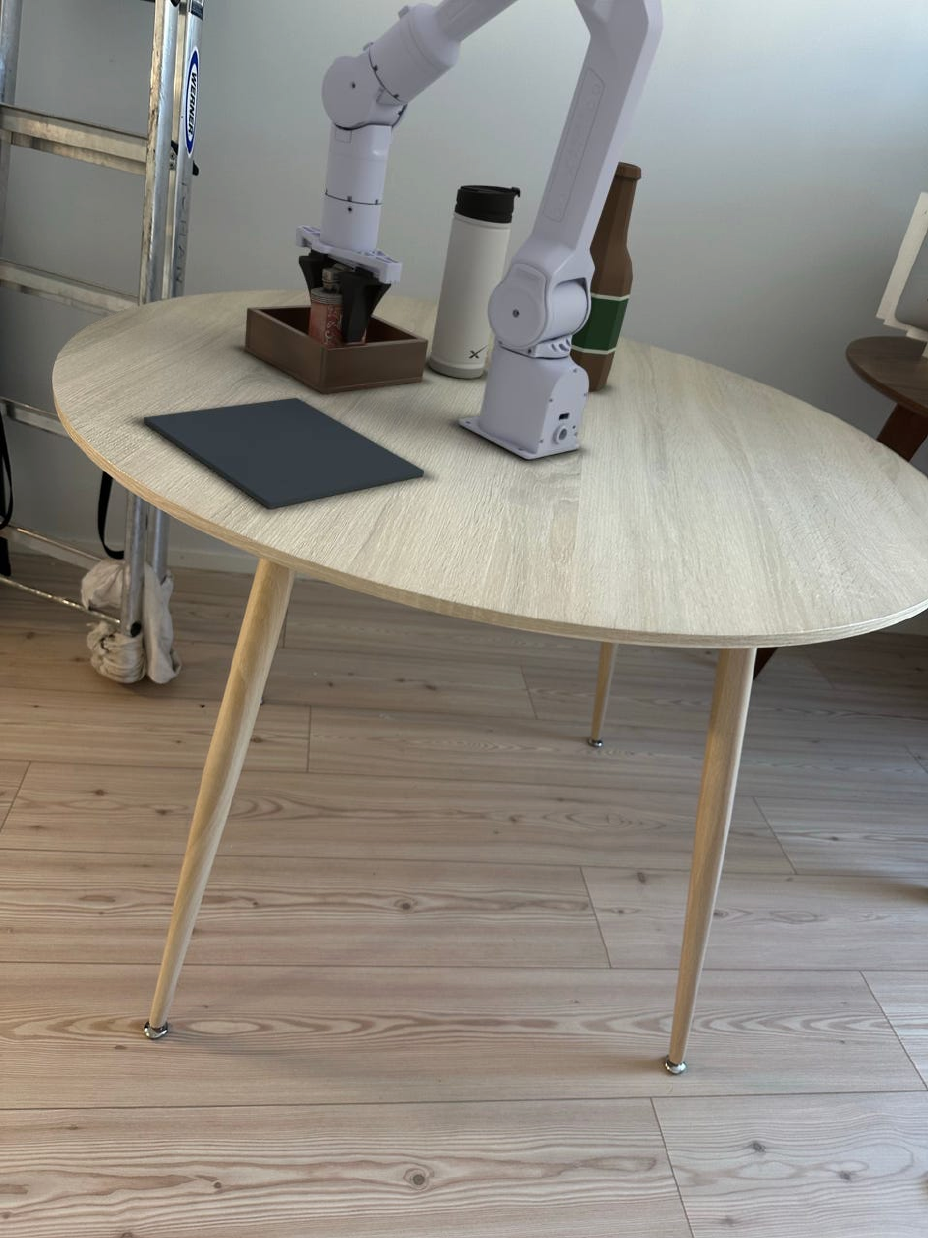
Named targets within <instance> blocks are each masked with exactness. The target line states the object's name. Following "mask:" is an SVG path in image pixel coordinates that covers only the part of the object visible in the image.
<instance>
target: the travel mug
mask: <svg viewBox="0 0 928 1238" xmlns="http://www.w3.org/2000/svg"><path fill="white" fill-rule="evenodd" d="M516 196H517V198H521V189H520V188H519V187H517V186H511V187H505V186H497V185H485V184H484V185H483V184H468V185H467V184H466V185H461V186H460V188H458V189H457V192H456V198H455V201H456V203H455V205H454V210H453V218H452V221H451V226H450V231H449V239H448V244H447V249H446V250H447V251H446V255H445V256H446V257H445V262H444V268H443V273H442V274H443V275H442V281H441V288H440V292H439V299H438V305H437V311H436V312H437V313H436V318H435V324H434V329H433V337H432V344H431V349H430V350H431V351H430V354H429V361H428V364H429V367H430V368H431V369H432V370H433V371H435V372H437V373H439V374H441V375H444V376H448V377H450V378H456V379H464V380H466V379H467V380H468V379H469V380H470V379H471V380H472V379H478V378H479V377H481V376H482V375H483V373H484V369H485V366H486V365H485V364H486V362H485V361H486V359H487V355H488V348H489V343H490V338H491V333H492V329H491V327H490V324H489V320H488V302H489V299H490V296H491V294H492V292H493V290H494V288H495V287H496V286H497V285H498V284H499V283H500V282H501V281H502V275H503V271H504V266H505V261H506V255H507V250H508V244H509V239H510V234H511V227H512V224H513V222H512V221H513V213H514V212H515V197H516Z"/></svg>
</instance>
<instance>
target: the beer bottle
mask: <svg viewBox="0 0 928 1238" xmlns="http://www.w3.org/2000/svg"><path fill="white" fill-rule="evenodd" d="M641 179H642V168H641V167H640V166H638V165H635V164H632V163H628V162H625V161H619V163H618V166H617V168H616V171H615V174H614V177H613V180H612V183H611V186H610V189H609V192H608V195H607V198H606V201H605V204H604V207H603V210H602V213H601V216H600V219H599V222H598V225H597V228H596V231H595V234H594V236H593V239H592V242H591V245H590V248H589V251H590V254H591V257H592V260H593V263H594V266H595V271H594V274H593V277H592V280H591V285H590V296H591V310H590V314H589V317H588V319H587V321H586V323H585V324H584V326H583V327H582V328H581V329H580V330H579V331H578V332H576V333H575V334H573V335H572V339H571V350H570V354H569V355H570V357H571V359H572V360H573V361H574V363H575V364H577V365H578V366H580V367H581V368H583V369H584V370H585V371H586V373H587V375H588V379H589V390H588V392H596V391H599V390H601V389H603V388H604V387H605V386H606V384H607V382H608V378H609V376H610V372H611V369H612V365H613V362H614V358H615V354H616V350H617V345H618V342H619V338H620V334H621V331H622V326H623V323H624V319H625V315H626V312H627V308H628V303H629V299H630V296H631V291H632V286H633V280H634V274H633V273H634V272H633V261H632V259H631V256H630V253H629V249H628V233H629V227H630V222H631V217H632V211H633V206H634V201H635V196H636V190H637V184H638V181H639V180H641Z"/></svg>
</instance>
